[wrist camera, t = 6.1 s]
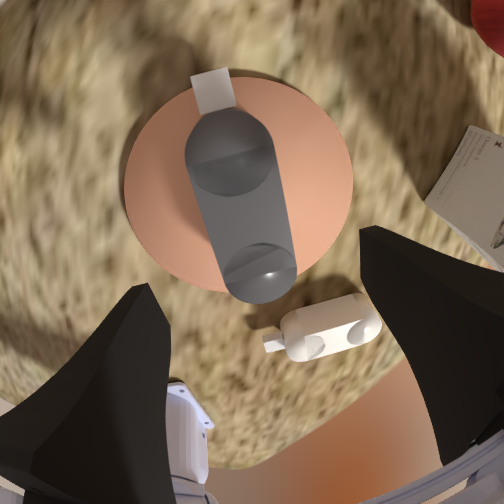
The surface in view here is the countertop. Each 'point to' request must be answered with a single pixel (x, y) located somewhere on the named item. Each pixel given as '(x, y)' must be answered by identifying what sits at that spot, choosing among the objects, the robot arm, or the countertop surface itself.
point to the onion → (489, 22)
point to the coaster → (290, 167)
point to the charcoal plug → (239, 193)
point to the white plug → (325, 328)
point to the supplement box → (475, 194)
